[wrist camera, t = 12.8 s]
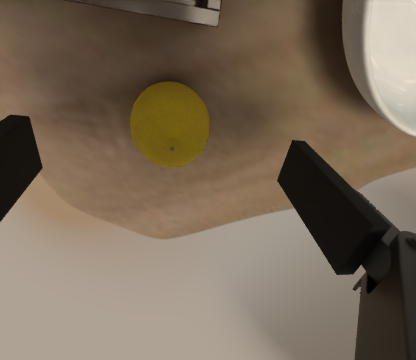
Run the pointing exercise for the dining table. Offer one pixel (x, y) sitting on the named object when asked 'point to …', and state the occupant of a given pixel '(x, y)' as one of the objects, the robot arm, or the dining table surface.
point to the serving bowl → (383, 56)
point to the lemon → (169, 124)
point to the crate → (167, 9)
